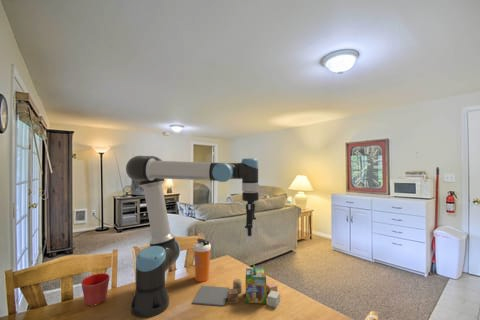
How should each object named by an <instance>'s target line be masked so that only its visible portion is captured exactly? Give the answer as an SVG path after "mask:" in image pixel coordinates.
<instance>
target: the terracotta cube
mask: <svg viewBox="0 0 480 320" xmlns="http://www.w3.org/2000/svg"><path fill="white" fill-rule="evenodd" d="M271 290H272V291H276V292H278V285H277V284H276V283H275V282H274V281H271V282H266V295H267V296H268V295H269V293H270V292H271Z"/></svg>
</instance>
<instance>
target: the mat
mask: <svg viewBox="0 0 480 320" xmlns="http://www.w3.org/2000/svg"><path fill="white" fill-rule="evenodd" d="M228 289H231V288H230V287H228V286H227V287H226V286H214V285H213V286H212V285H200V288H199V289H198V291H197V292H196V294H195V297H194V299H192V304H193V305H202V306H204V305H206V306H215V307H216V306H217V307H225V305H226V302H227V299H228Z"/></svg>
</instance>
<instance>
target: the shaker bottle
mask: <svg viewBox="0 0 480 320" xmlns="http://www.w3.org/2000/svg"><path fill="white" fill-rule="evenodd" d="M196 241H197V242H195V243H194V245H193V253H194V279H195V281H196V282H199V283H204V282H207V281H208V280H209V278H210V264H211V261H210V260H211V248H212V247H211V246H212V245H211V243H210V241H209V240H206V239H204V238H197V239H196Z"/></svg>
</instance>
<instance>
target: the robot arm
mask: <svg viewBox="0 0 480 320" xmlns="http://www.w3.org/2000/svg"><path fill="white" fill-rule="evenodd" d="M125 172H126V175H127V177H128V178H130V179H131V180H133V181H135V182H138V183H139V187H141V188H142V189H143V193H144V199H145V203H146V211H147V216H148V221H149V227H150V233H151V239H150V240H149V246H147V247H144V248H142V249H141V250H140V251H139V252H138V253H137V254H136V257H135V258H136V259H135V291H134V294H133V297H132V301H131V304H130V311H131V314H132V315H133V316H135V317H138V318H151V317H154V316H157V315H159V314H161V313H163V312H164V311H166V309H168V307H169V305H170V297H169V292H168V290H167V288H166V272H167V271H168V270H169V269H170V268H171V266H172V265H174V264H175V263H176V261H178V259H179V257H180V254H181V246H180V244H179V242H178V241H177V240H176V238H175V235H174V234H172V233H171V228H170V227H171V226H170V222H169V217H168V216H169V215H168V211H167V206H166V200H165V194H164V188H163V185H164V183H165V181H166V180H168V179H169V180H188V181H190V180H191V181H214V182H220V183H222V182H223V183H225V182H228V181H229V180H241V191H242V193H241V197H242V198H241V200H242V201H243V202H247V203H246V204H245V209H246V210H245V211H246V212H245V214H246V219H245V220H246V221H245V222H246V223H245V225H244V229H245V230H246V231H245V232H246V244H254V234H255V232H256V231H255V228H256V226H255V225H256V223H255V222H256V221H255V220H257V219H256V218H257V217H256V216H255V211H256V210H255V207H256V204H255V202H256V201H257V202H258V201H259V200H260V199H259V192H258V191H259V188H260V186H261V185H260V184H259V159H257V158H253V157H252V158H242V159H241V162H207V161H205V162H203V161H174V160H173V161H172V160H162V158H160V157H157V156H154V155H135V156H133V157H131V158H130V159H129V160H128V162H127V163H126V165H125ZM165 179H166V180H165Z"/></svg>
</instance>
